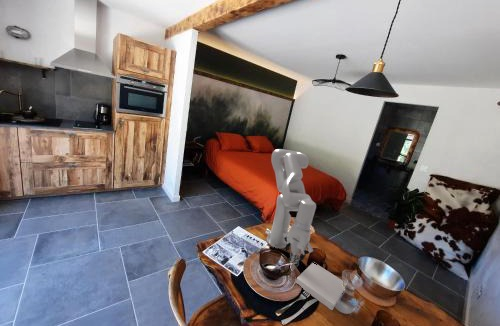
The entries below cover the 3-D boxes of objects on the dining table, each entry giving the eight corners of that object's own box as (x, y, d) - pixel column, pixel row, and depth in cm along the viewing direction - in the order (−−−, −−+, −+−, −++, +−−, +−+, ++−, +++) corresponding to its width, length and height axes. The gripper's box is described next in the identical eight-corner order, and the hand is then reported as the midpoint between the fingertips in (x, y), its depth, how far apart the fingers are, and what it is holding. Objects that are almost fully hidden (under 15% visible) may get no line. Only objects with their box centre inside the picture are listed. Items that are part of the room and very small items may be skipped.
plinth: (295, 283, 102) (296, 278, 102) (311, 266, 116) (313, 261, 115) (332, 310, 92) (334, 305, 91) (345, 288, 105) (347, 283, 104)
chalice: (296, 274, 108) (305, 243, 103) (283, 270, 109) (291, 239, 104) (296, 265, 115) (305, 235, 110) (284, 261, 116) (292, 231, 111)
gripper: (283, 218, 108) (275, 248, 112) (315, 236, 97) (305, 268, 102) (291, 214, 113) (283, 243, 118) (322, 230, 103) (312, 262, 107)
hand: (293, 254), depth 110 cm, fingers open, 7 cm apart
